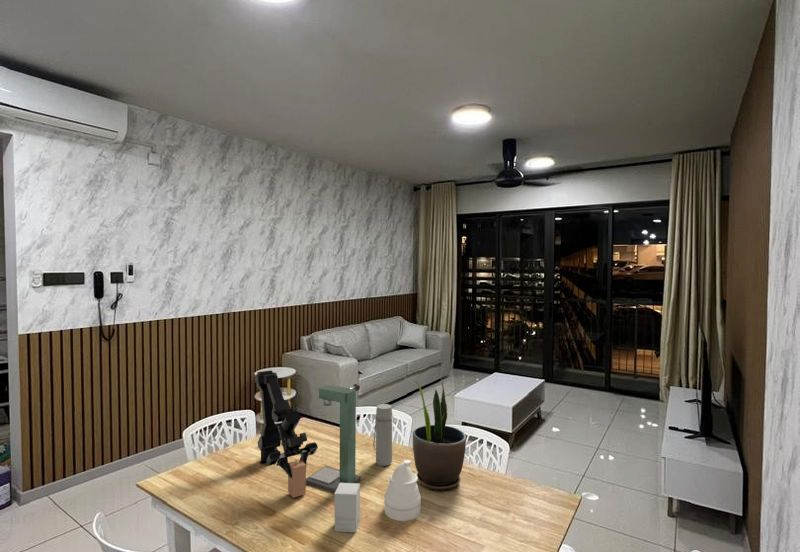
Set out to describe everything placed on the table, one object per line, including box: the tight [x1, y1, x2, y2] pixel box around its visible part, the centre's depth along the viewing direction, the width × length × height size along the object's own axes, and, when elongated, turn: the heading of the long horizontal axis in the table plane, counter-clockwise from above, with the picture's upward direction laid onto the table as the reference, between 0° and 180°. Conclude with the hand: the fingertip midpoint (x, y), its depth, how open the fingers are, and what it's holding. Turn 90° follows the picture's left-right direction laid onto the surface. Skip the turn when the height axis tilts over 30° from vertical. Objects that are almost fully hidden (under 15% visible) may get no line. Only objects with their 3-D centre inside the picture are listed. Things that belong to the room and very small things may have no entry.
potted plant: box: [412, 380, 467, 493], centre depth 170 cm, size 21×22×40 cm
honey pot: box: [383, 459, 422, 522], centre depth 150 cm, size 13×13×18 cm
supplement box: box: [333, 483, 361, 533], centre depth 140 cm, size 7×7×13 cm
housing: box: [287, 458, 307, 498], centre depth 159 cm, size 5×5×12 cm
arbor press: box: [306, 383, 362, 493], centre depth 172 cm, size 18×20×38 cm
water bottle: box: [372, 403, 393, 467], centre depth 186 cm, size 9×8×25 cm
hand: (298, 475), depth 158 cm, fingers closed on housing, 5 cm apart
